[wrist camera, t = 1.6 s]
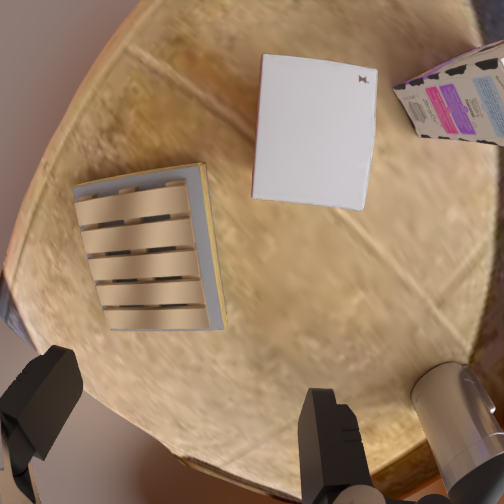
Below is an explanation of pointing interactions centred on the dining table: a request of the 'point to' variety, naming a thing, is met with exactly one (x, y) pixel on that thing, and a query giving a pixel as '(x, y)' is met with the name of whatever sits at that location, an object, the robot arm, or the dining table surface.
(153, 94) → the dining table surface
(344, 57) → the dining table surface
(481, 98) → the candy box
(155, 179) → the rack
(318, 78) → the small box
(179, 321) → the pallet
